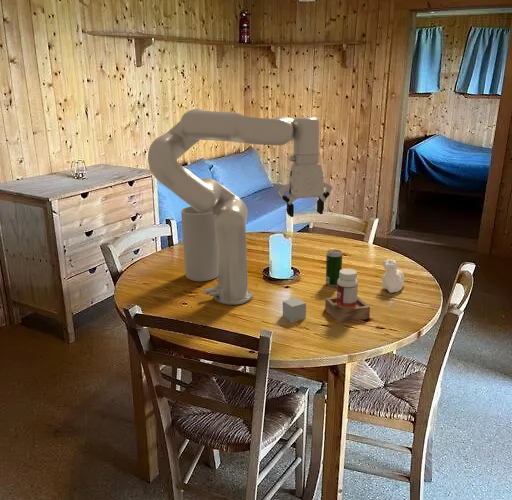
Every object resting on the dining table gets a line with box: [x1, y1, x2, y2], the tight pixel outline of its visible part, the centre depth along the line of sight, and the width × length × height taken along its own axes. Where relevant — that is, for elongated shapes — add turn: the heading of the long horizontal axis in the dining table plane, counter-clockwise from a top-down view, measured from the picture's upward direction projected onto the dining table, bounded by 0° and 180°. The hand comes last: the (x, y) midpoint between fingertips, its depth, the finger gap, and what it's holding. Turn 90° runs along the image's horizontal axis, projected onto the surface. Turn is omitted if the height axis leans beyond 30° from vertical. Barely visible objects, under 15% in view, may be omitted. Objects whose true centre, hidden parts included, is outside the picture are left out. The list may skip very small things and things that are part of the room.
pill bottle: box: [336, 268, 359, 309], centre depth 157 cm, size 6×6×11 cm
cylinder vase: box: [180, 206, 218, 282], centre depth 188 cm, size 12×12×25 cm
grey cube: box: [282, 297, 307, 323], centre depth 158 cm, size 5×5×5 cm
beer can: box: [325, 248, 343, 288], centre depth 181 cm, size 5×5×12 cm
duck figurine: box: [381, 258, 406, 294], centre depth 177 cm, size 12×8×11 cm
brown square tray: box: [324, 295, 371, 324], centre depth 159 cm, size 10×10×4 cm
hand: (305, 214), depth 162 cm, fingers open, 9 cm apart
